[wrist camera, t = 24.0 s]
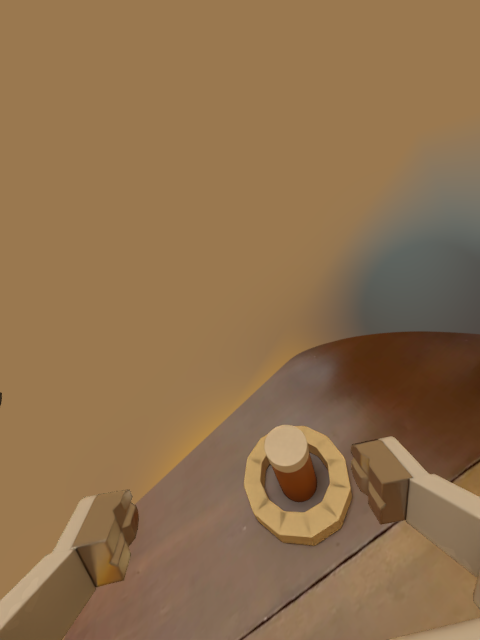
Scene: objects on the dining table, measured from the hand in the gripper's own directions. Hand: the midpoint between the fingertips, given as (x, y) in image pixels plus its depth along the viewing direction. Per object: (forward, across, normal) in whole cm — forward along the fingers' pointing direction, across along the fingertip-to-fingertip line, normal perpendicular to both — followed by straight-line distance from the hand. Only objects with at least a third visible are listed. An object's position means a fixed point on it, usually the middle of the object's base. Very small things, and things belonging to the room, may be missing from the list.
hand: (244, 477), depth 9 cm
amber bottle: (+18, -6, +24) cm, 31 cm away
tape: (+18, -6, +24) cm, 31 cm away
